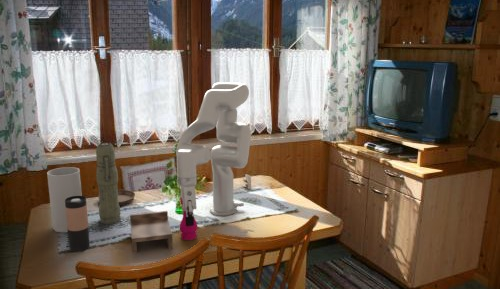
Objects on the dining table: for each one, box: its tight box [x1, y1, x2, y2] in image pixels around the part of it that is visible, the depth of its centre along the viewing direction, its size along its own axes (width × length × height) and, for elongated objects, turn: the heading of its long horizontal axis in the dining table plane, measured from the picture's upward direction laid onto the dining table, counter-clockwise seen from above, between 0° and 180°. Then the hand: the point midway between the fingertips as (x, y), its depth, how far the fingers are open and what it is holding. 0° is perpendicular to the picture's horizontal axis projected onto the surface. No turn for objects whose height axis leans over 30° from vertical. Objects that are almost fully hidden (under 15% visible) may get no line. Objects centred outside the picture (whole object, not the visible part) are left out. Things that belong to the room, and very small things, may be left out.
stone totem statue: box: [95, 142, 121, 225], centre depth 195 cm, size 9×12×35 cm
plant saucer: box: [98, 189, 136, 206], centre depth 223 cm, size 18×18×3 cm
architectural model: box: [239, 173, 252, 190], centre depth 243 cm, size 3×7×7 cm, turn 29°
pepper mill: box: [179, 196, 199, 241], centre depth 180 cm, size 7×7×20 cm
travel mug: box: [65, 195, 91, 253], centre depth 171 cm, size 8×8×20 cm
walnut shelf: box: [129, 210, 174, 254], centre depth 177 cm, size 15×17×9 cm
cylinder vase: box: [46, 166, 83, 234], centre depth 189 cm, size 12×12×25 cm
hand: (188, 221), depth 181 cm, fingers open, 6 cm apart
